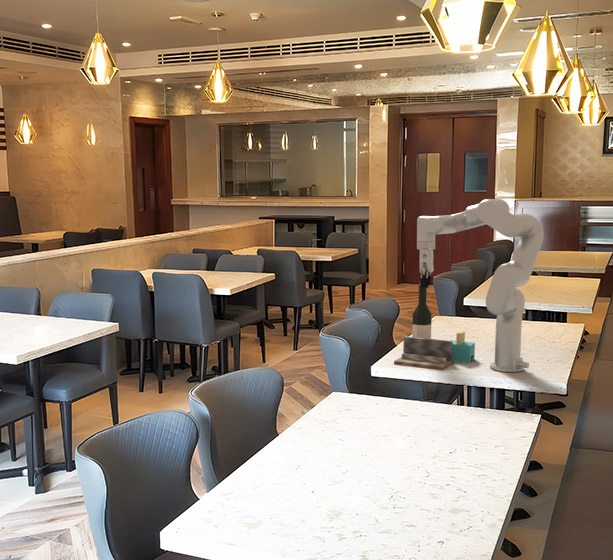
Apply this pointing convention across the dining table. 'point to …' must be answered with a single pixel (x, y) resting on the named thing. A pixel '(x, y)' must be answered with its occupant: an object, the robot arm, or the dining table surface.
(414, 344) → the wall board
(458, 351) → the teal block
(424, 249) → the robot arm
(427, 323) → the wine bottle
